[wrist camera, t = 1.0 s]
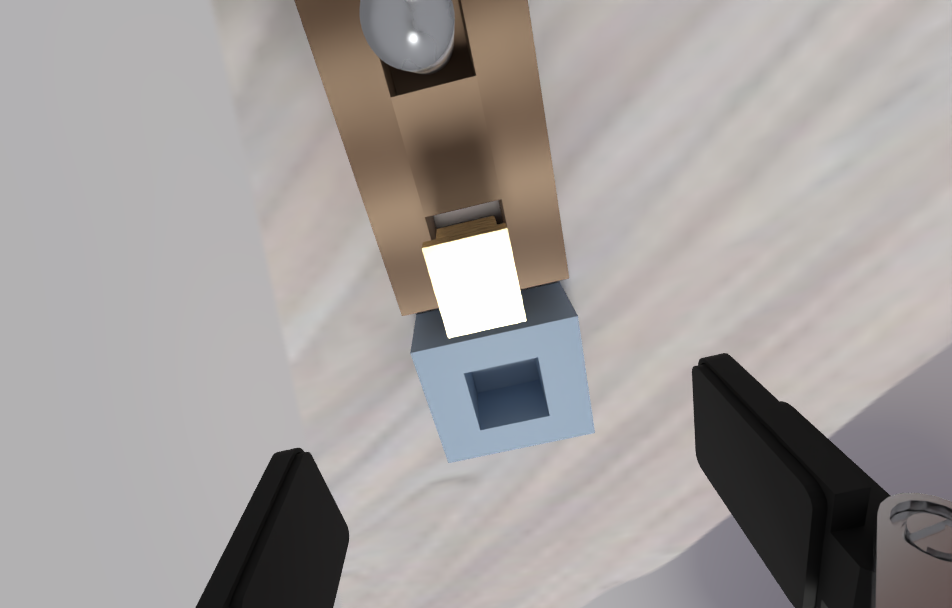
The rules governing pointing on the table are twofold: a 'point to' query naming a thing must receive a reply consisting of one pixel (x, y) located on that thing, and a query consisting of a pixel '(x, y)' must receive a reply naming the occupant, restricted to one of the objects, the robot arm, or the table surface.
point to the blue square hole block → (506, 378)
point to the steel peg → (410, 32)
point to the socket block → (444, 138)
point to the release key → (474, 276)
